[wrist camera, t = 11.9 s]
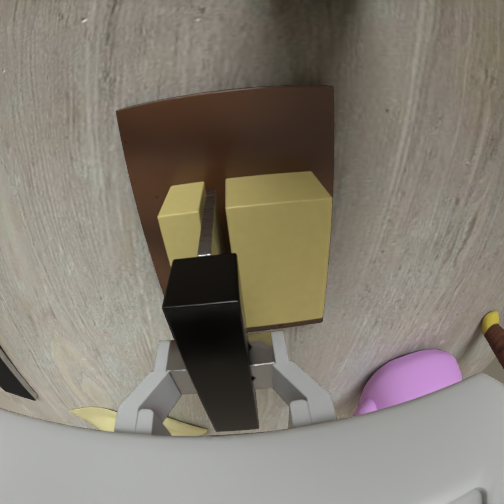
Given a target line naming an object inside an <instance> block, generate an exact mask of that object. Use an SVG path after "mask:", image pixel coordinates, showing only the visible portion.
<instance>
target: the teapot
mask: <svg viewBox="0 0 504 504" xmlns="http://www.w3.org/2000/svg"><path fill="white" fill-rule="evenodd" d="M461 380H462V375H461V372H460V369H459V366H458V363H457V361H456V359H455V357H454V356H452V355H451V354H449V353H447V352H445V351H442V350H437V349H429V350H422V351H418V352H414V353H411V354H408V355H405V356H403V357H400V358H398V359H393V360H391V361H389V362H388V363H386V364H385V365H384V366H382V367H381V368H379V369H378V370H377V371H376V372H375V373H374V374H373V375H372V377H371V378H370V379H369V381H368V382H367V384H366V385H365V387H364V389H363V391H362V394H361V396H360V400H359V404H358V408H357V409H356V411H355V413H354V416H357V415H361V414H365V413H369V412H372V411H376V410H380V409H383V408H387V407H390V406H393V405H397V404H400V403H403V402H406V401H409V400H412V399H415V398H418V397H421V396H423V395H426V394H429V393H432V392H434V391H437V390H440V389H442V388H445V387H447V386H450V385H452V384H454V383H457V382H459V381H461Z"/></svg>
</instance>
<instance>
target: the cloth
mask: <svg viewBox="0 0 504 504" xmlns="http://www.w3.org/2000/svg"><path fill="white" fill-rule="evenodd" d="M70 412H72V413H73V414H75V415H76V416H78V417H80V418H82V419H83V420H85V421H87V422H89V423H91V424H92V425H93V426H94V427H96V428H97V429H99V430H102V431H110V432H114V428H115V422H116V417H117V412H115V411H111V410H109V409H105V408H96V407H86V408H79V409H73V410H70ZM163 425H164V426H165V427H166V428H167V430H168V431H169V432H170V433H171V436H201V435H203V434H205V433H207V430H206V429H203V428H199V427H196V426H192V425H189V424H186V423H183V422H180V421H177V420H174V419H171V418H169V417H166V419H165V420H164V422H163Z"/></svg>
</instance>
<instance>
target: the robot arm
mask: <svg viewBox="0 0 504 504" xmlns="http://www.w3.org/2000/svg"><path fill="white" fill-rule="evenodd" d="M247 337H248V346H249V359H250V368H251V375H252V382H253V388H254V389H263V388H273V389H274V390H275V391H276V392H277V393H278V395H279V396H280V397H281V398H282V399H283V400H284V401H285V402H286V404H287V405H288V406H289V421H288V429H283V430H275V431H267V432H257V433H246V434H232V435H212V436H171V433H170V432H169V431H168V430H167V428H166V427H165V426H164V425H163V422H164V420H165V419H166V417H167V416H168V415H169V413H170V412H171V410H172V409H173V407H174V406H175V404H176V403H177V401H178V400H179V398H180V397H181V394H194V393H197V391H196V389H195V387H194V385H193V383H192V380H191V378H190V376H189V374H188V371H187V369H186V367H185V364H184V362H183V360H182V357H181V355H180V352H179V350H178V348H177V345H176V343H175V340H169V341H159V343H158V347H157V353H156V359H155V365H154V371H153V372H150V373H149V374H148V375H147V376H146V377H145V378H144V379H143V380H142V381H141V383H140V384H139V385H138V386H137V387H136V388H135V389H134V390H133V391H132V392H131V393H130V395H129V396H128V397H127V398H126V399H125V400H124V401H123V402H122V403H121V404H120V406H119V407H118V411H117V417H116V422H115V428H114V432H110V431H102V430H95V429H88V428H82V427H76V426H70V425H65V424H60V423H55V422H50V421H46V420H42V419H37V418H33V417H29V416H26V415H22V414H19V413H15V412H11V411H8V410H5V409H1V408H0V504H504V384H502V383H501V382H499V381H498V380H496V379H494V378H492V377H490V376H488V375H486V374H484V373H478V374H475V375H473V376H470V377H468V378H466V379H464V380H461V381H459V382H457V383H454V384H452V385H450V386H447V387H445V388H442V389H440V390H437V391H434V392H432V393H429V394H426V395H423V396H421V397H418V398H415V399H412V400H409V401H406V402H403V403H400V404H397V405H393V406H390V407H387V408H383V409H380V410H376V411H372V412H369V413H365V414H361V415H357V416H353V417H349V418H344V419H340V420H337V417H336V413H335V409H334V406H333V402H332V398H331V394H330V393H329V392H328V391H327V390H325V389H324V388H323V387H322V386H321V385H320V384H318V383H317V382H316V381H315V380H314V379H313V378H312V377H310V376H309V375H308V374H307V373H306V372H305V371H304V370H302V369H301V368H300V367H299V366H298V365H297V364H296V363H295V362H293V361H289V356H288V351H287V347H286V342H285V337H284V332H283V331H274V332H265V333H257V334H248V335H247Z"/></svg>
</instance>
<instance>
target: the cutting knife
mask: <svg viewBox="0 0 504 504" xmlns="http://www.w3.org/2000/svg"><path fill="white" fill-rule="evenodd" d="M162 309H163V312H164V314H165V317H166V320H167V322H168V325H169V328H170V330H171V333H172V335H173V338H174V340H175V343H176V345H177V348H178V350H179V352H180V355H181V357H182V360H183V362H184V364H185V367H186V369H187V371H188V374H189V376H190V378H191V380H192V383H193V385H194V387H195V389H196V391H197V394H198V396H199V398H200V400H201V402H202V404H203V406H204V408H205V410H206V413H207V415H208V417H209V419H210V421H211V423H212V425H213V427H214V429H215V431H217V432H221V431H237V430H250V429H258V428H259V419H258V410H257V400H256V391H255V389H254V388H253V382H252V375H251V368H250V359H249V346H248V337H247V335H248V333H247V326H246V318H245V311H244V303H243V296H242V288H241V280H240V273H239V265H238V257H237V254H236V253H227V254H225V247H224V240H223V233H222V227H221V220H220V213H219V205H218V198H217V191H216V189H208V190H207V191H206V197H205V204H204V210H203V217H202V224H201V231H200V238H199V245H198V253H197V257H190V258H180V259H174V260H173V261H172V265H171V269H170V274H169V278H168V283H167V287H166V292H165V296H164V301H163V306H162Z"/></svg>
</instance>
